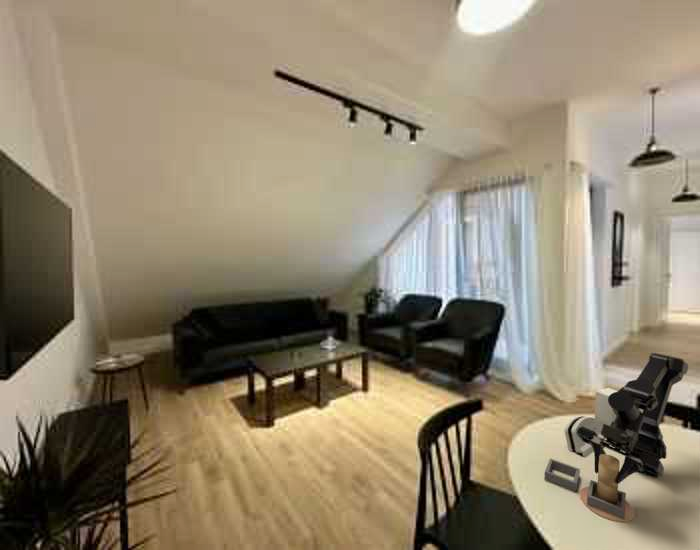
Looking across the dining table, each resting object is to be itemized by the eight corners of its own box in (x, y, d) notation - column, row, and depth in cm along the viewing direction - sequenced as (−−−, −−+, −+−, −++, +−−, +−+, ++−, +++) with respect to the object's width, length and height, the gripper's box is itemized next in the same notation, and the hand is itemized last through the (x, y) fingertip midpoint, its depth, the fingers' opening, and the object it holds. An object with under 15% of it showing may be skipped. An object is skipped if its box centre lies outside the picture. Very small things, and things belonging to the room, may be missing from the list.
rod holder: (579, 476, 103) (580, 469, 103) (575, 491, 97) (576, 483, 97) (549, 465, 108) (550, 458, 108) (544, 479, 102) (544, 471, 102)
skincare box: (611, 439, 122) (614, 398, 120) (591, 429, 128) (594, 390, 126) (624, 433, 125) (627, 393, 123) (605, 424, 131) (607, 386, 129)
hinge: (584, 458, 112) (575, 426, 113) (569, 455, 116) (560, 425, 117) (606, 441, 120) (597, 412, 122) (592, 439, 124) (583, 411, 126)
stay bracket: (634, 501, 93) (635, 492, 93) (634, 530, 84) (635, 520, 84) (582, 481, 101) (583, 473, 101) (577, 506, 92) (577, 496, 92)
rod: (612, 495, 94) (615, 455, 93) (619, 507, 90) (623, 465, 88) (593, 492, 95) (596, 452, 94) (600, 504, 91) (603, 463, 90)
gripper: (581, 400, 100) (559, 447, 95) (663, 429, 84) (642, 488, 79) (592, 417, 105) (572, 463, 100) (672, 448, 89) (652, 504, 84)
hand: (605, 477), depth 91 cm, fingers closed on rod, 4 cm apart
